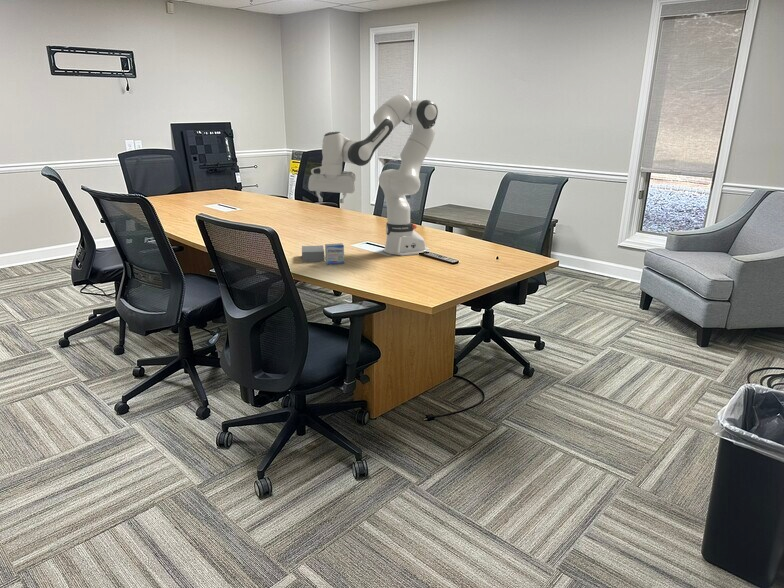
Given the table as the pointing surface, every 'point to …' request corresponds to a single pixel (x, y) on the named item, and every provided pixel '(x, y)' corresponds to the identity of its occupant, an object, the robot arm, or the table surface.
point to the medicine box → (334, 253)
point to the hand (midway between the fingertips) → (331, 202)
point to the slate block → (312, 253)
